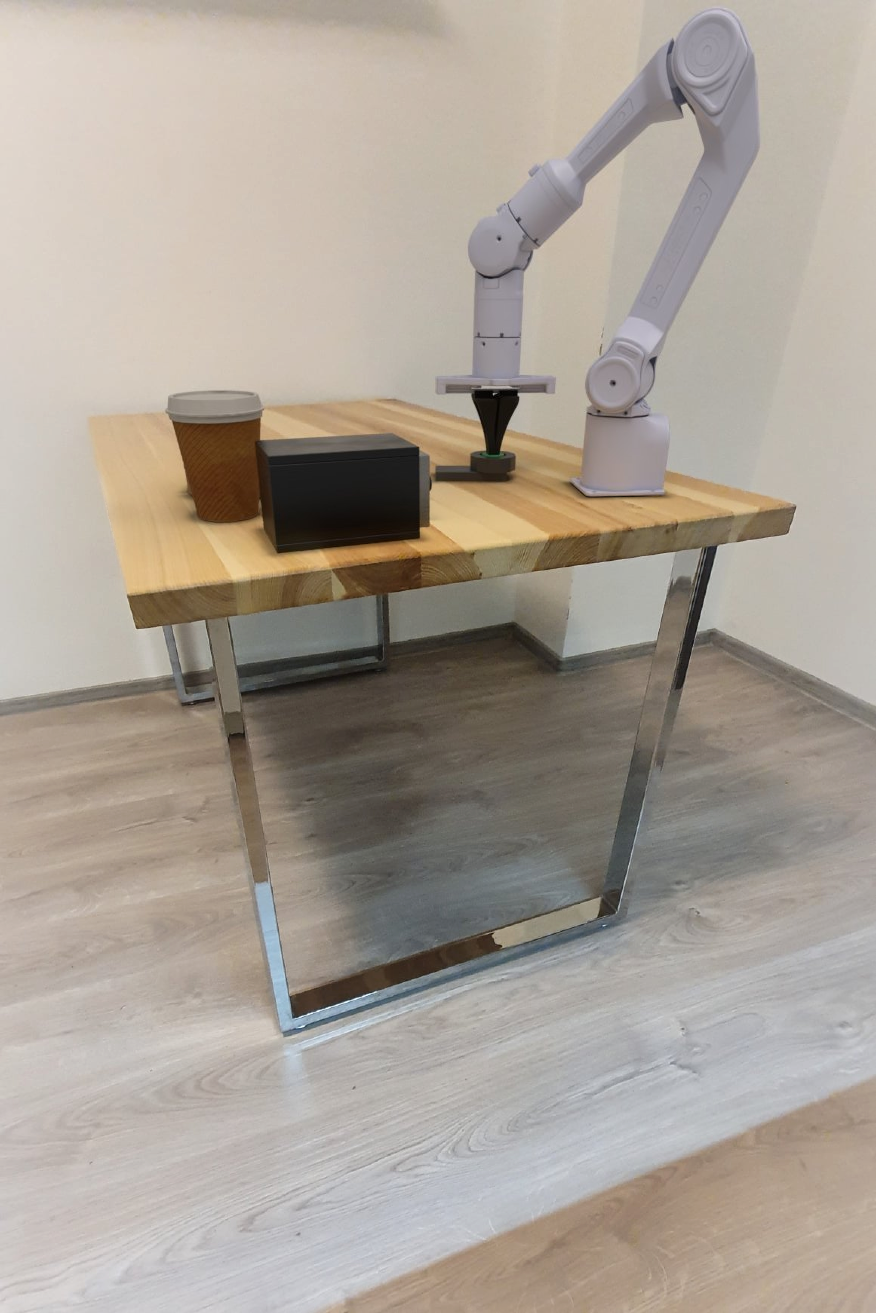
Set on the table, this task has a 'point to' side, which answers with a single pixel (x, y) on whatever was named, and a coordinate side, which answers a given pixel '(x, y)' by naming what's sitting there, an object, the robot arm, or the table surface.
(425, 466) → the drawer
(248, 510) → the disposable coffee cup
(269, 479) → the cabinet
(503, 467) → the control block
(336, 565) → the table surface
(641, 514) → the table surface
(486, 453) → the button
